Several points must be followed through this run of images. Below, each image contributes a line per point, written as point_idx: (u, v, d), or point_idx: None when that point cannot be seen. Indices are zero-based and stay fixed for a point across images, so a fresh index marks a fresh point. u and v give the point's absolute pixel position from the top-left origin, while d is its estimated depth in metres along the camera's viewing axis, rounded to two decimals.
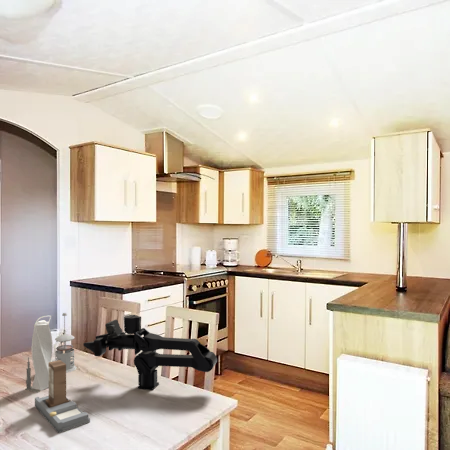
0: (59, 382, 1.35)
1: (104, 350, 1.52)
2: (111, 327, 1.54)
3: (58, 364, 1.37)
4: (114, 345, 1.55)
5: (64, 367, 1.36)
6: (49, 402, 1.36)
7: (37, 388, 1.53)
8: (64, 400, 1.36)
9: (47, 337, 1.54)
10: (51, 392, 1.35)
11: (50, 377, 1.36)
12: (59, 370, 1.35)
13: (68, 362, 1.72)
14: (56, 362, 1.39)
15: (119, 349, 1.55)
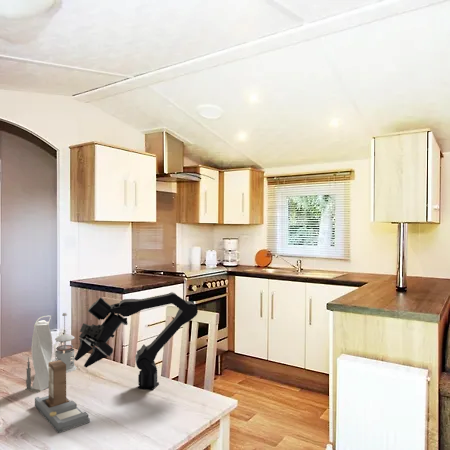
0: (59, 382, 1.35)
1: None
2: (94, 326, 1.42)
3: (58, 364, 1.37)
4: (107, 337, 1.47)
5: (64, 367, 1.36)
6: (49, 402, 1.36)
7: (37, 388, 1.53)
8: (64, 400, 1.36)
9: (47, 337, 1.54)
10: (51, 392, 1.35)
11: (50, 377, 1.36)
12: (59, 370, 1.35)
13: (68, 362, 1.72)
14: (56, 362, 1.39)
15: (113, 335, 1.49)
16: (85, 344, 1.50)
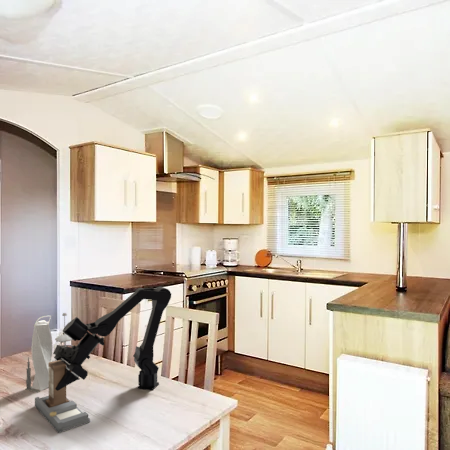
0: None
1: None
2: (68, 349, 1.36)
3: (58, 364, 1.37)
4: (82, 359, 1.41)
5: (64, 367, 1.36)
6: (49, 402, 1.36)
7: (37, 388, 1.53)
8: (64, 400, 1.36)
9: (47, 337, 1.54)
10: (51, 392, 1.35)
11: (50, 377, 1.36)
12: (59, 370, 1.35)
13: None
14: (56, 362, 1.39)
15: (88, 357, 1.43)
16: None
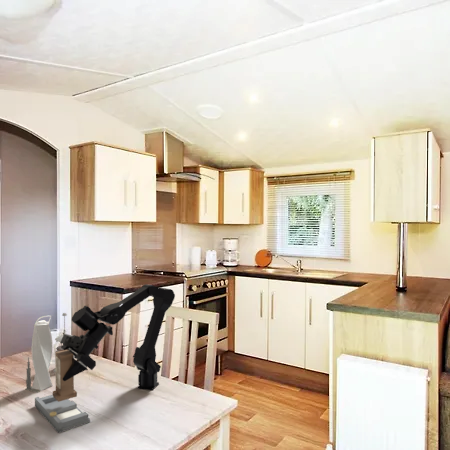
0: None
1: None
2: (75, 338, 1.30)
3: (65, 354, 1.31)
4: (90, 348, 1.35)
5: (71, 357, 1.31)
6: (56, 393, 1.31)
7: (37, 388, 1.53)
8: (71, 391, 1.31)
9: (47, 337, 1.54)
10: (58, 383, 1.30)
11: (57, 367, 1.31)
12: (66, 360, 1.30)
13: None
14: (63, 352, 1.33)
15: (97, 347, 1.37)
16: None
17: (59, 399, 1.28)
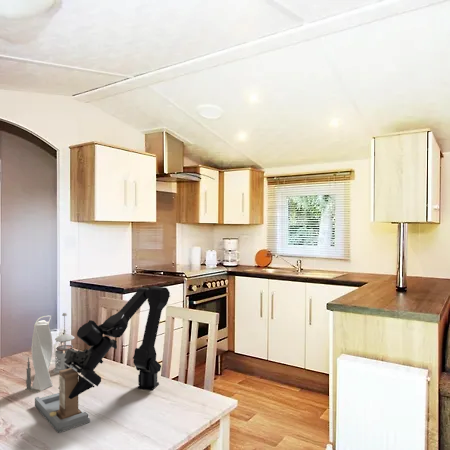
0: None
1: None
2: (80, 353, 1.28)
3: (70, 373, 1.28)
4: (95, 363, 1.33)
5: (76, 376, 1.28)
6: (60, 413, 1.28)
7: (37, 388, 1.53)
8: (76, 411, 1.28)
9: (47, 337, 1.54)
10: (62, 402, 1.27)
11: (61, 386, 1.28)
12: (71, 379, 1.27)
13: None
14: (67, 370, 1.30)
15: (101, 361, 1.34)
16: None
17: None
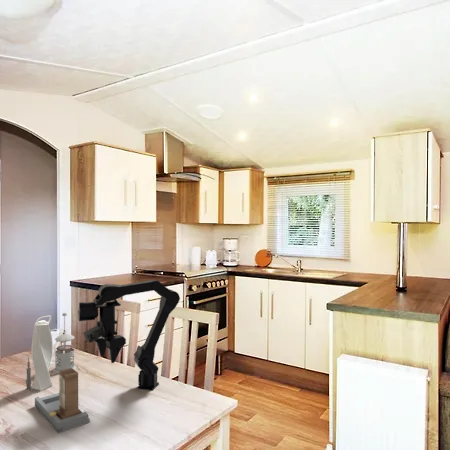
0: (71, 392, 1.27)
1: (119, 335, 1.44)
2: (94, 333, 1.41)
3: (70, 373, 1.28)
4: (112, 328, 1.47)
5: (76, 376, 1.28)
6: (60, 413, 1.28)
7: (37, 388, 1.53)
8: (76, 411, 1.28)
9: (47, 337, 1.54)
10: (62, 402, 1.27)
11: (61, 386, 1.28)
12: (71, 379, 1.27)
13: (68, 362, 1.72)
14: (67, 370, 1.30)
15: (116, 322, 1.48)
16: (100, 340, 1.52)
17: None
